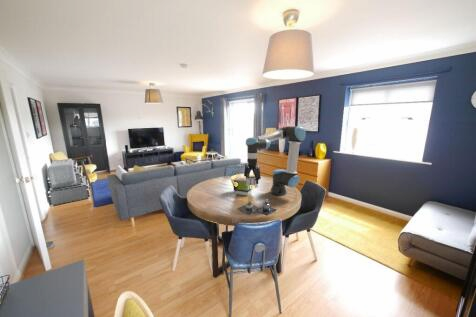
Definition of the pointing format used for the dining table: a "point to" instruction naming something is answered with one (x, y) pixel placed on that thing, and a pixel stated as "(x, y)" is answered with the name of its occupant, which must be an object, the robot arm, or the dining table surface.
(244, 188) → the tea box
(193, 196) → the dining table surface
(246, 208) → the hub
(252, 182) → the ring
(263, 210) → the stand
